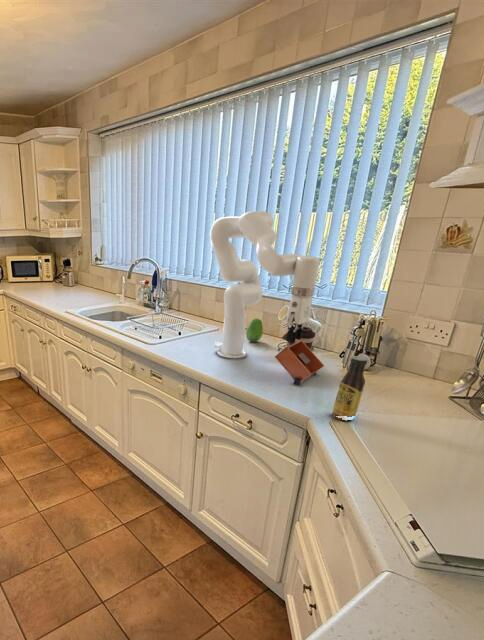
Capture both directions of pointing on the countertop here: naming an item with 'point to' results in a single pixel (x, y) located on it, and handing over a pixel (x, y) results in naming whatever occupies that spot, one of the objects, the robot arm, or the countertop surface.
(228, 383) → the countertop surface
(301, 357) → the block
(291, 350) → the tub
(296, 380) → the wheel axle
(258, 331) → the avocado
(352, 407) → the sauce bottle
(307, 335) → the coffee cup
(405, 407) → the countertop surface
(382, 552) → the countertop surface
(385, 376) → the countertop surface
